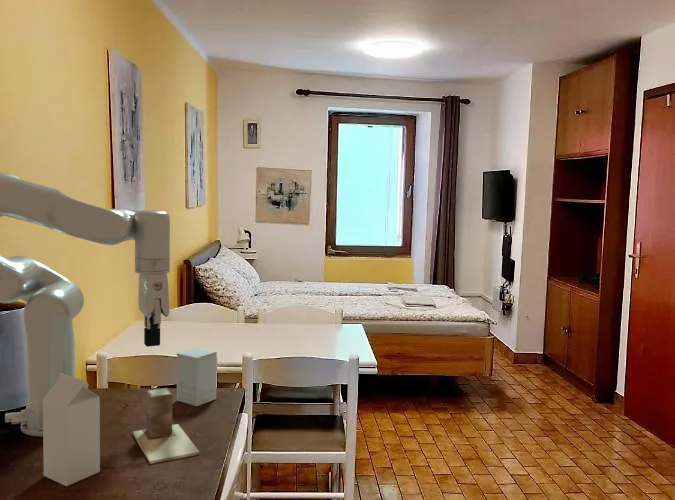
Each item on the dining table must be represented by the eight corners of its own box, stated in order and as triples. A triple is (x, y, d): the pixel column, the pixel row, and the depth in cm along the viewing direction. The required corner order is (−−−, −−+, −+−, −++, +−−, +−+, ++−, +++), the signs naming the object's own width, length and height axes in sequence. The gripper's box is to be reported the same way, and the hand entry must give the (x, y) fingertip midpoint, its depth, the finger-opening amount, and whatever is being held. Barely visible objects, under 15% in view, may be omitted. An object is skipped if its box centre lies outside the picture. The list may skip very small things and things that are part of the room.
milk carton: (66, 487, 109) (65, 385, 107) (43, 476, 113) (42, 377, 111) (100, 472, 115) (100, 376, 113) (77, 462, 119) (76, 368, 117)
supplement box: (217, 399, 157) (218, 351, 156) (196, 407, 151) (196, 357, 149) (196, 393, 161) (197, 346, 159) (175, 400, 155) (176, 352, 153)
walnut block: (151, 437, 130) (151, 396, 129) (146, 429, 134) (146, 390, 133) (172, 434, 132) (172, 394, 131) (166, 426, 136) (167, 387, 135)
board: (150, 464, 120) (150, 460, 119) (132, 434, 133) (132, 431, 133) (199, 454, 125) (199, 451, 125) (177, 426, 138) (177, 423, 138)
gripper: (178, 269, 131) (177, 351, 133) (160, 260, 144) (160, 336, 146) (142, 270, 127) (142, 355, 129) (128, 261, 140) (128, 339, 142)
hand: (152, 345), depth 138 cm, fingers closed
